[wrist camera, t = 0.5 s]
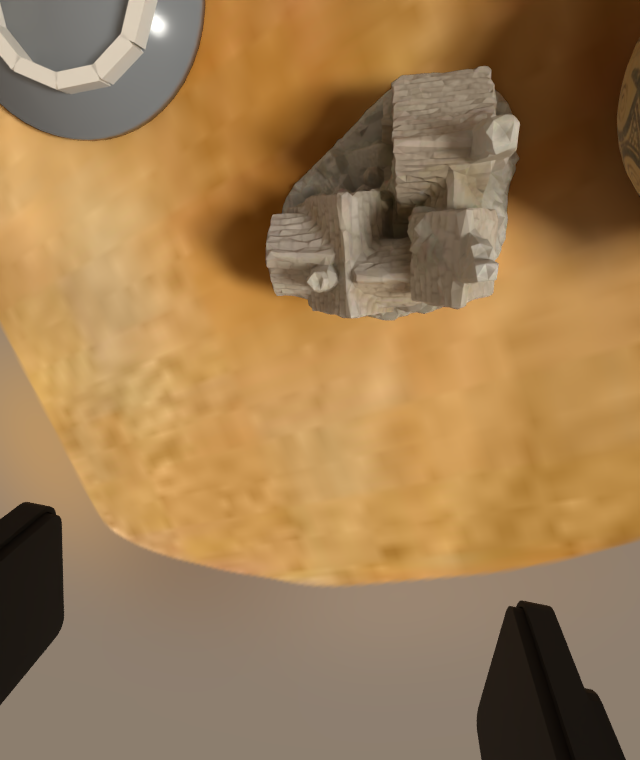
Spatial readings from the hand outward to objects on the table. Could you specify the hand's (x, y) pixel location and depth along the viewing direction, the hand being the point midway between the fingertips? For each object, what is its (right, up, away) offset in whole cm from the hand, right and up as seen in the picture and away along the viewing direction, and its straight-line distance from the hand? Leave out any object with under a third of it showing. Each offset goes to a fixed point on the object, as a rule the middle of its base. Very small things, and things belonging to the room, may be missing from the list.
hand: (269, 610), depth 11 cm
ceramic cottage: (+6, +17, +26) cm, 32 cm away
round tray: (-15, +31, +25) cm, 42 cm away
